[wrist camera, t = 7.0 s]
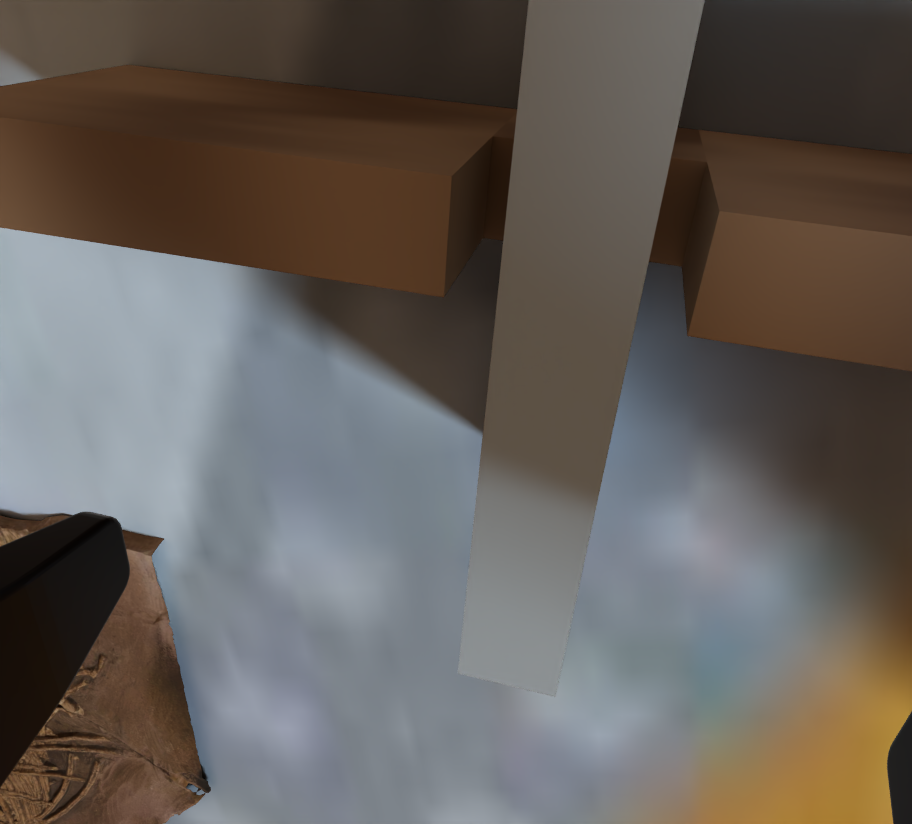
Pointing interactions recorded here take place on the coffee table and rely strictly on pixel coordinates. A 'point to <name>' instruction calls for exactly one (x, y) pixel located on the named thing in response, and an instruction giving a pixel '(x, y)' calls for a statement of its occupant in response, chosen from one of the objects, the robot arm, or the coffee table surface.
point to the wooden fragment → (112, 718)
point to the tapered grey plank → (567, 311)
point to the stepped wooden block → (450, 199)
